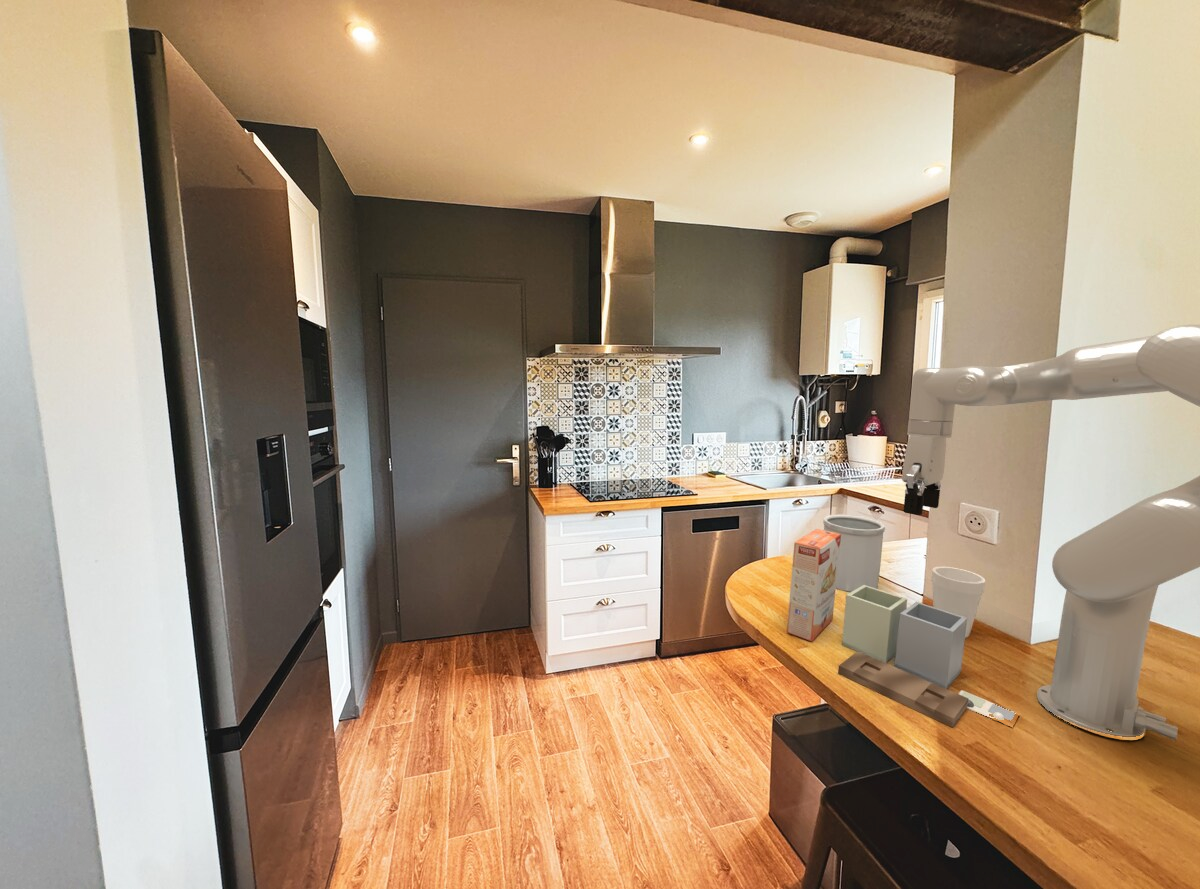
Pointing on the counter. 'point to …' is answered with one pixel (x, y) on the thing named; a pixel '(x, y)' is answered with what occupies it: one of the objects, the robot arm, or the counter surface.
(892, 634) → the sage pot
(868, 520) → the utensil holder
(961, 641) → the slate pot
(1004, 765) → the counter surface
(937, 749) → the counter surface
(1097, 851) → the counter surface
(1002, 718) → the card
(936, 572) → the foam cup
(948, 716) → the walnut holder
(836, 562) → the cracker box
